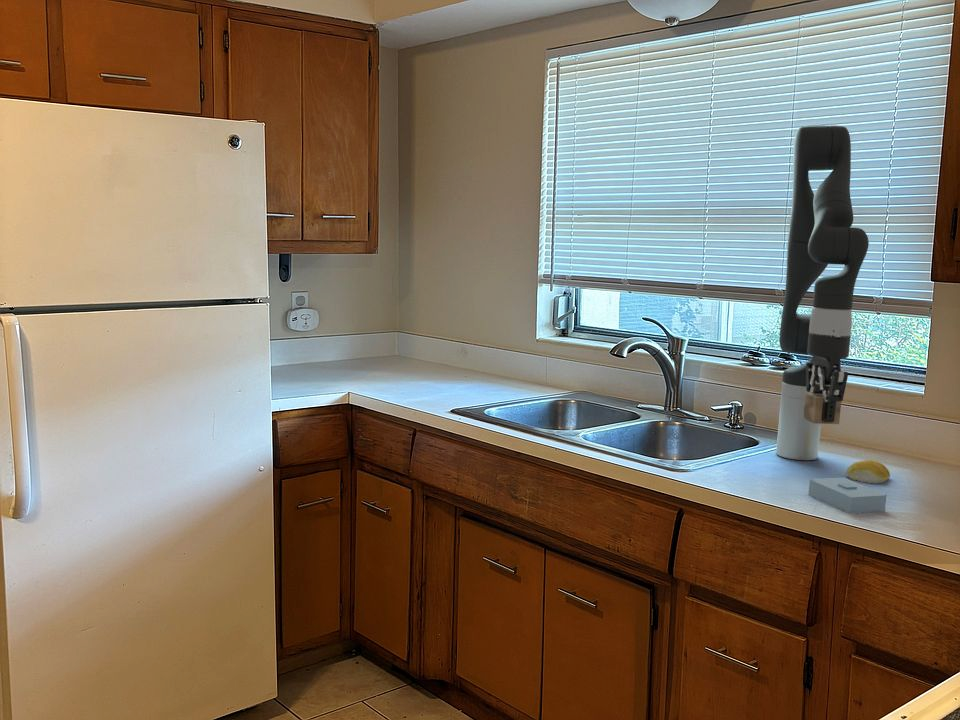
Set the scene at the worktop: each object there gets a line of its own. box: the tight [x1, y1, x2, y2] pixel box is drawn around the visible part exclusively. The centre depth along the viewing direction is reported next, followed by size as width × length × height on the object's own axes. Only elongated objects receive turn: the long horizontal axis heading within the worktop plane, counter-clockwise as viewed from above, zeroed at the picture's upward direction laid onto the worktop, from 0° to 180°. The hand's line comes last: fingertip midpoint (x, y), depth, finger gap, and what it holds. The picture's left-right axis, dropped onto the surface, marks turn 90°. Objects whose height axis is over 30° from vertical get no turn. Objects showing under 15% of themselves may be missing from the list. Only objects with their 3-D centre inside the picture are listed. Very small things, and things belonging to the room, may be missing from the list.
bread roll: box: [845, 459, 891, 484], centre depth 191 cm, size 8×9×4 cm
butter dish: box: [808, 477, 887, 514], centre depth 172 cm, size 12×8×4 cm, turn 17°
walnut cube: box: [803, 393, 842, 425], centre depth 173 cm, size 5×5×5 cm
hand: (821, 418), depth 173 cm, fingers closed on walnut cube, 5 cm apart
